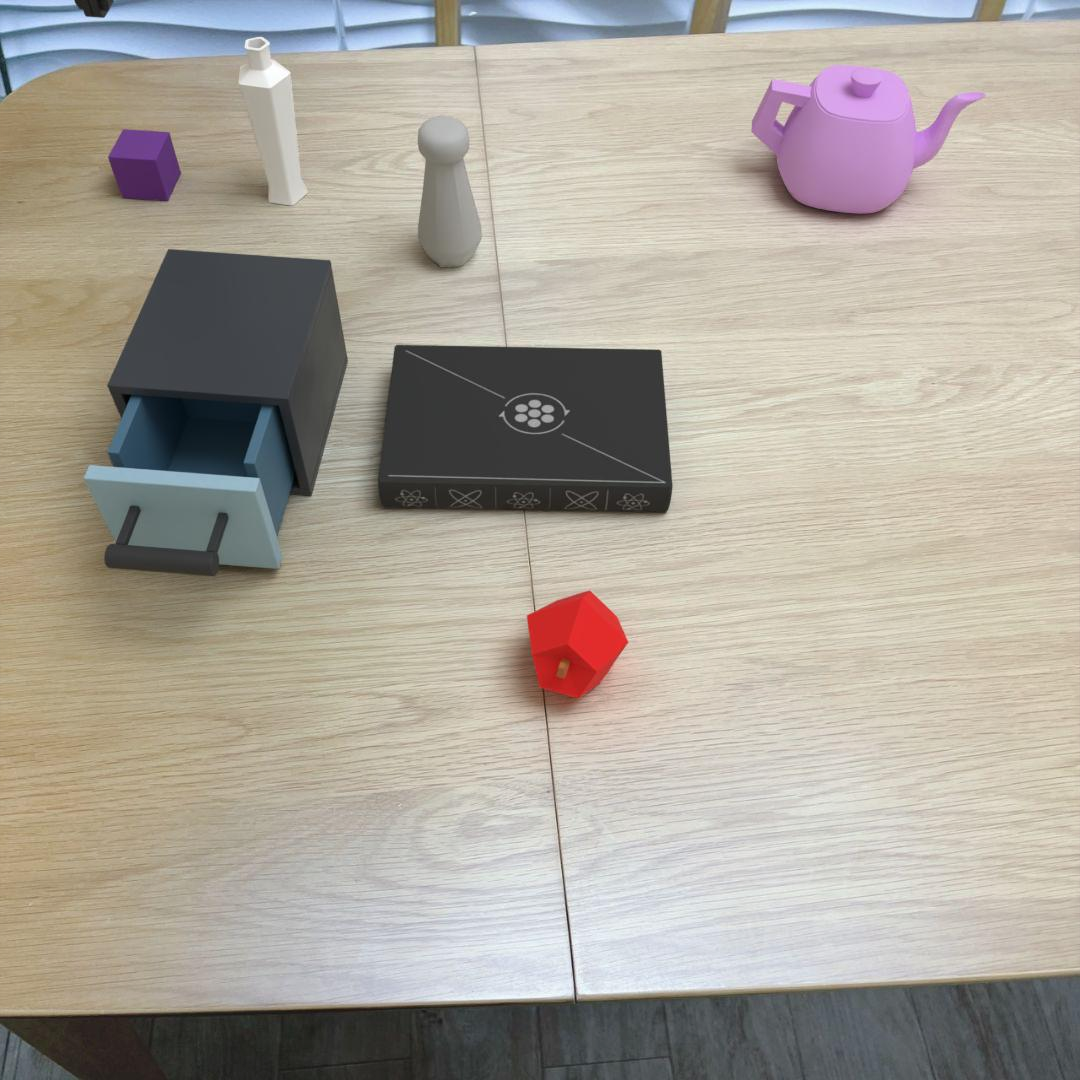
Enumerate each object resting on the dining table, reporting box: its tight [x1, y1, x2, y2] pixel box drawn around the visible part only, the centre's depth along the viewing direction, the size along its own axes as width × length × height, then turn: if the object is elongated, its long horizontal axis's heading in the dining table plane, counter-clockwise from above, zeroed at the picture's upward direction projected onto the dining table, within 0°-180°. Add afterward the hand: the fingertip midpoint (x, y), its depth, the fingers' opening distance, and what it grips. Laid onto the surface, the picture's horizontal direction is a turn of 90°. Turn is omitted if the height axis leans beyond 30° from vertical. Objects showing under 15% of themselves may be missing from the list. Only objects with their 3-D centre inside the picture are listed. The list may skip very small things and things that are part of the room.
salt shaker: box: [417, 115, 483, 268], centre depth 95 cm, size 6×6×13 cm
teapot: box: [751, 64, 987, 214], centre depth 103 cm, size 13×20×11 cm
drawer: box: [83, 395, 296, 578], centre depth 77 cm, size 18×11×9 cm, turn 175°
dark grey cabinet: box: [106, 248, 349, 497], centre depth 83 cm, size 15×13×11 cm
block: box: [107, 128, 182, 202], centre depth 104 cm, size 4×4×4 cm
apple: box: [526, 589, 629, 699], centre depth 72 cm, size 7×7×8 cm
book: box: [377, 344, 674, 513], centre depth 85 cm, size 22×15×3 cm
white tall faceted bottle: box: [237, 36, 309, 206], centre depth 99 cm, size 5×4×15 cm
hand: (98, 12), depth 91 cm, fingers closed
